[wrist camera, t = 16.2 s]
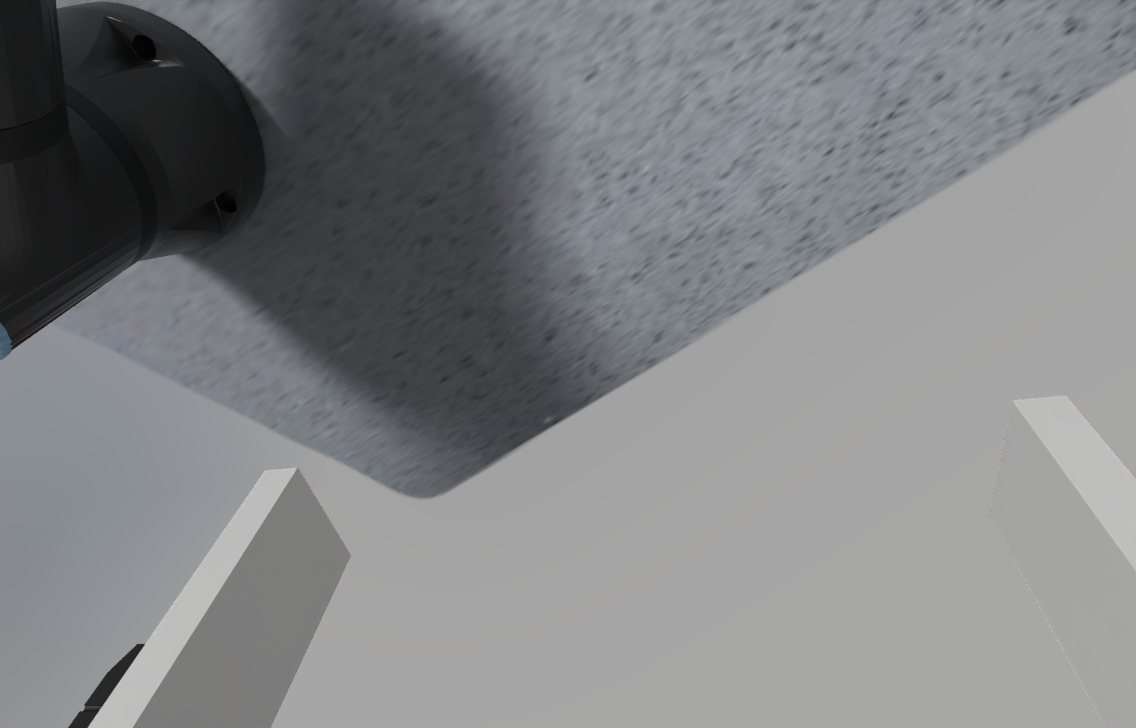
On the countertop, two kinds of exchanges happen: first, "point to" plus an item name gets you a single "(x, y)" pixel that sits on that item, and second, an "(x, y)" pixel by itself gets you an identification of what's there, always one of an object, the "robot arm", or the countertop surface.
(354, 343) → the countertop surface
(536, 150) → the countertop surface
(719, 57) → the countertop surface
